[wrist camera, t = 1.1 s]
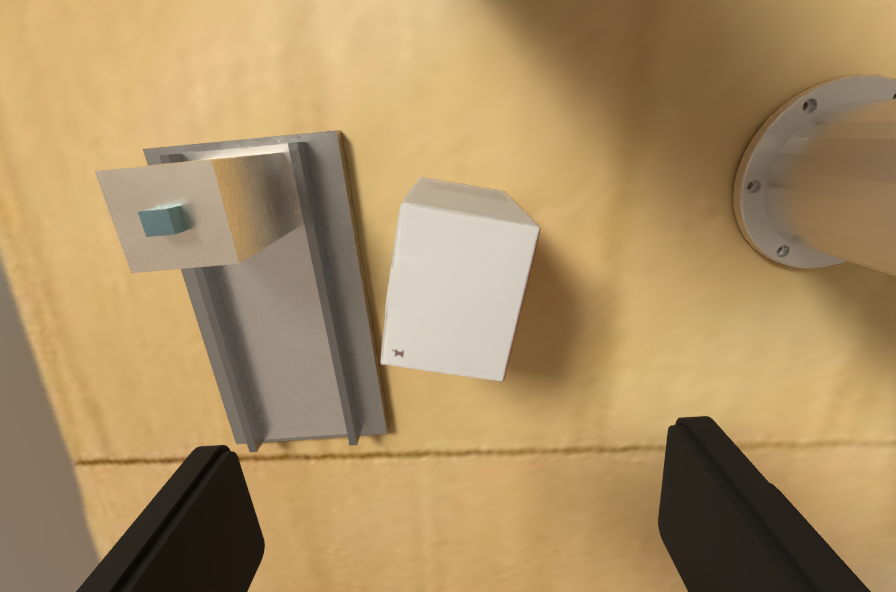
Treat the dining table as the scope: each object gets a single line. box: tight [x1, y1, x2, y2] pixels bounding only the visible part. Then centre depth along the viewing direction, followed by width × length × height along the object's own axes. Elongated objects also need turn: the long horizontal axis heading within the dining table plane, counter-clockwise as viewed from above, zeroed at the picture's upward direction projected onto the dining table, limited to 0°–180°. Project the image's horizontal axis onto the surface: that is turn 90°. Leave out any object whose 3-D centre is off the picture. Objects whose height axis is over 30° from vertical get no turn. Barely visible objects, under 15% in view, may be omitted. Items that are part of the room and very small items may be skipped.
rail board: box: [95, 131, 389, 452], centre depth 29 cm, size 13×24×12 cm, turn 5°
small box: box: [380, 177, 541, 382], centre depth 26 cm, size 8×6×13 cm
